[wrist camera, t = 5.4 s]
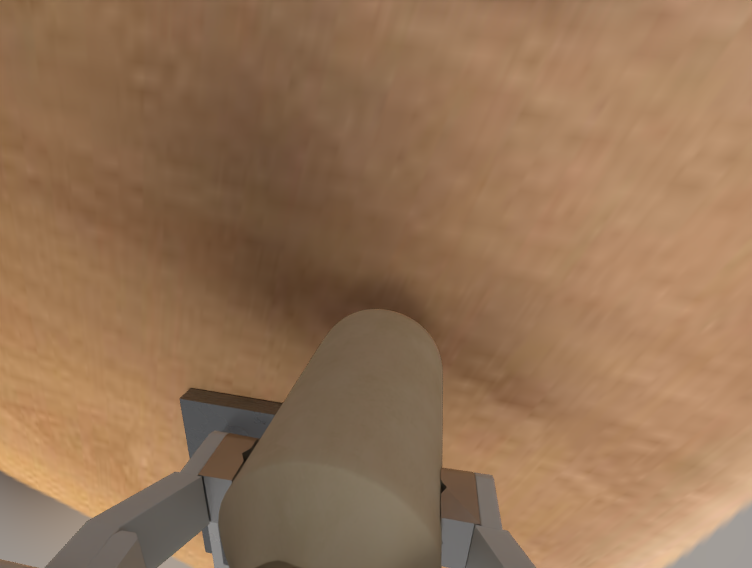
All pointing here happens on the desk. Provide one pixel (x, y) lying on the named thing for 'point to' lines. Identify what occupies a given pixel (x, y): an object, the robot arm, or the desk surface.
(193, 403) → the candle stand
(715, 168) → the desk surface
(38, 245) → the desk surface
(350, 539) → the candle
